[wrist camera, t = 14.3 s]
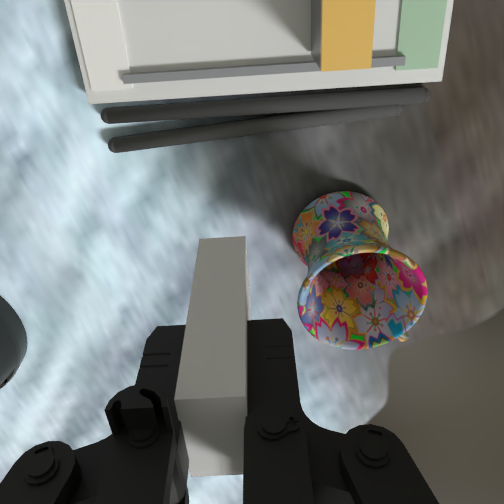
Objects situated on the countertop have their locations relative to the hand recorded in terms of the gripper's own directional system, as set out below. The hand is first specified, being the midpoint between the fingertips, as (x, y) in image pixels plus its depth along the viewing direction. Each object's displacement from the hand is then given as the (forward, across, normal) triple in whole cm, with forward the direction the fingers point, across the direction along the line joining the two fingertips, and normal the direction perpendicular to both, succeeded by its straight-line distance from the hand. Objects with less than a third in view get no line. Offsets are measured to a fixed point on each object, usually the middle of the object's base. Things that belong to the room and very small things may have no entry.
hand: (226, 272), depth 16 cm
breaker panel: (+24, +2, +5) cm, 25 cm away
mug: (+25, +9, -14) cm, 30 cm away
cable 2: (+24, +1, -3) cm, 25 cm away
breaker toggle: (+23, +7, +5) cm, 24 cm away
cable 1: (+24, +2, -1) cm, 25 cm away
